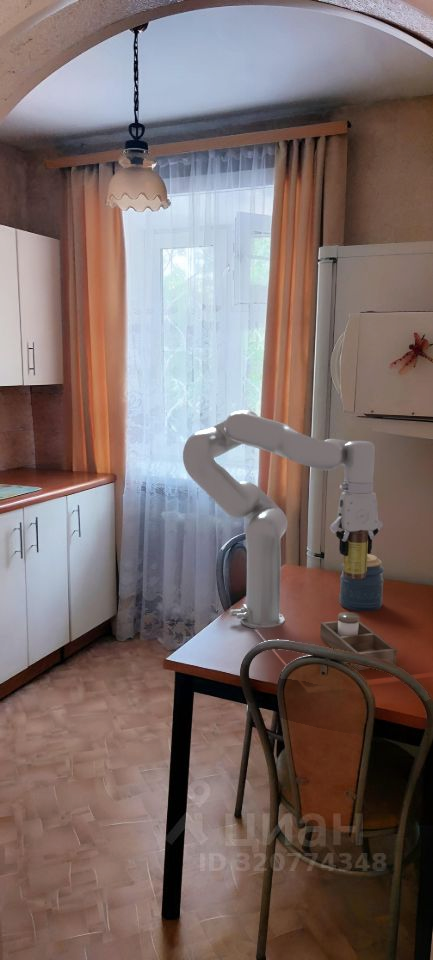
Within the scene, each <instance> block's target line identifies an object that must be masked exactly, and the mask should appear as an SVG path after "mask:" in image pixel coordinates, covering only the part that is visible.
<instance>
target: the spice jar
mask: <svg viewBox="0 0 433 960" xmlns="http://www.w3.org/2000/svg"><path fill="white" fill-rule="evenodd" d="M337 621H338V635H339V636H340V637H341V636H351V635H358V626H359V621H360V615H359V614H358V613H354V612H351V611H349V612H348V611H343V612H339V613H338V614H337Z"/></svg>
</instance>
